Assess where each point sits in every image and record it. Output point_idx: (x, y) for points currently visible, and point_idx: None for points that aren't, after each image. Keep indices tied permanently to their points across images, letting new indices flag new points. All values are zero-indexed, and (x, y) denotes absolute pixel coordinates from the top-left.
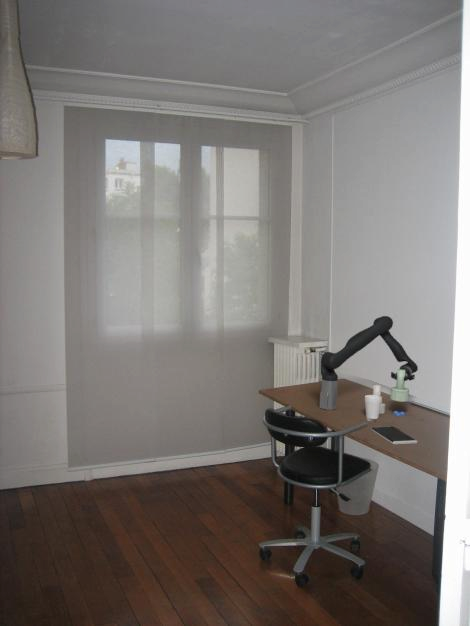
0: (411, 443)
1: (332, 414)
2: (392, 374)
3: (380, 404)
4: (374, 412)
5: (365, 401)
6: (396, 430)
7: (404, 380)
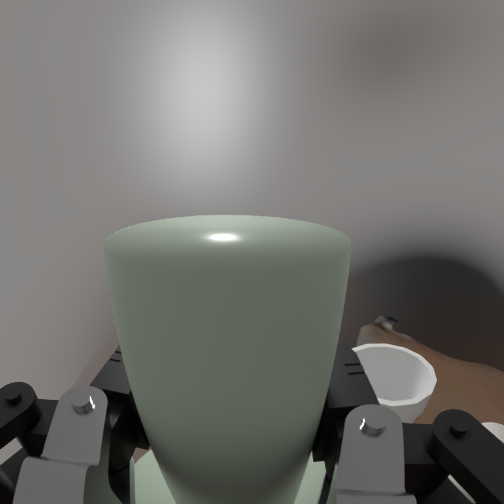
0: None
1: (490, 417)
2: (454, 416)
3: None
4: None
5: (407, 374)
6: None
7: None
